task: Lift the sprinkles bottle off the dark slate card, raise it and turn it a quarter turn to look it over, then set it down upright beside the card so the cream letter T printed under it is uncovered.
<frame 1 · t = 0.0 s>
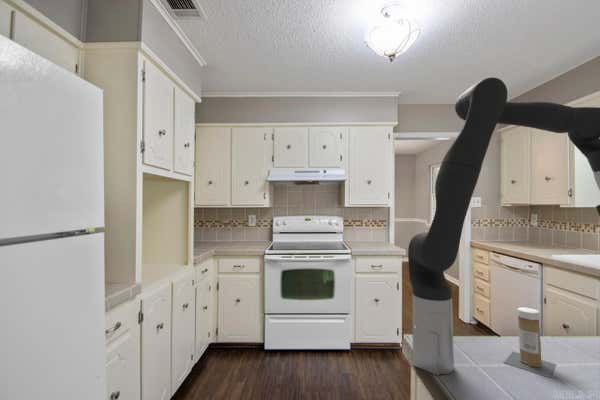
sprinkles bottle: (530, 363, 73), resting on letter card
letter card: (529, 363, 73), on the countertop
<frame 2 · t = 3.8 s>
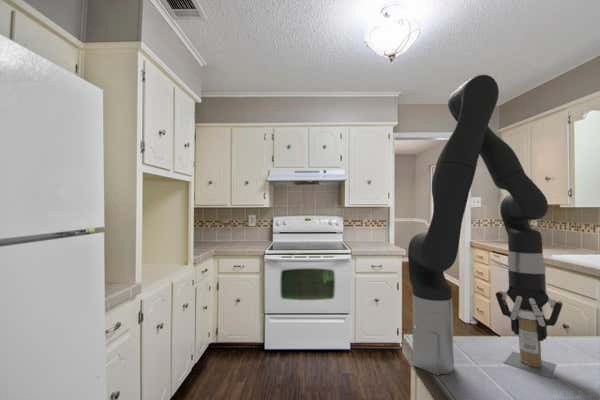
hand: (529, 336, 73), 7 cm above the countertop, tool pointing down, fingers closed on sprinkles bottle, 4 cm apart
sprinkles bottle: (530, 363, 73), resting on letter card, touching gripper
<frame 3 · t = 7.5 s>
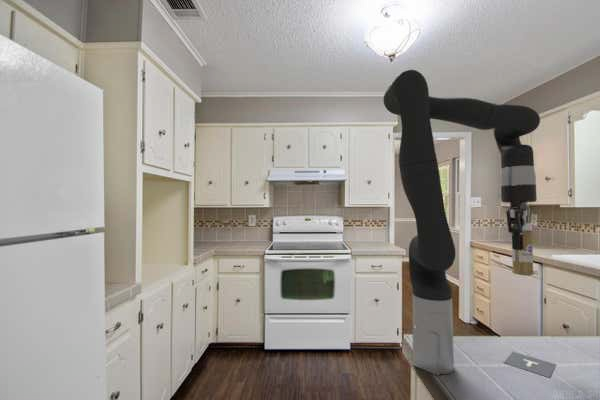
hand: (520, 248, 75), 29 cm above the countertop, tool pointing down, fingers closed on sprinkles bottle, 4 cm apart
sprinkles bottle: (522, 275, 75), point 22 cm above the countertop, touching gripper
when the fingers open (8 cm above the countertop, at t = 11.4 s): sprinkles bottle drops 2 cm, on the countertop.
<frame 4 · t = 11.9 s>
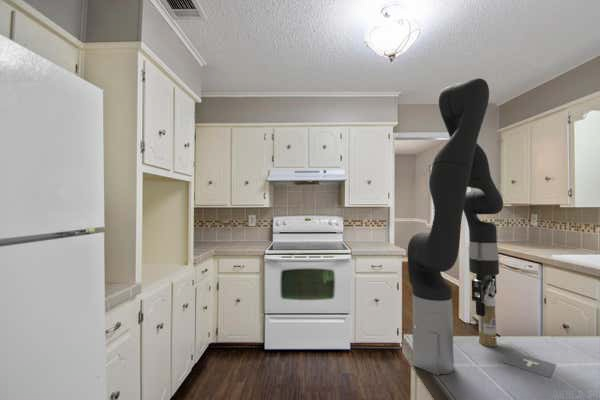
hand: (485, 312, 85), 9 cm above the countertop, tool pointing down, fingers open, 8 cm apart
sprinkles bottle: (487, 344, 84), on the countertop
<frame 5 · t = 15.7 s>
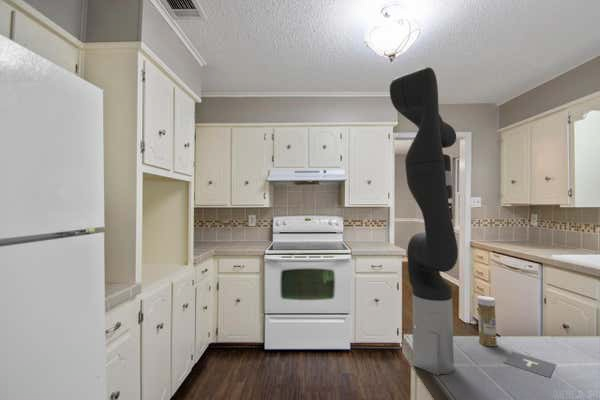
hand: (441, 232, 97), 32 cm above the countertop, tool pointing down, fingers open, 8 cm apart
nothing on the countertop moved.
at the end: sprinkles bottle inside the target area (0.3 cm from its centre), on the countertop; sprinkles bottle tilted 0°; sprinkles bottle touching countertop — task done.
